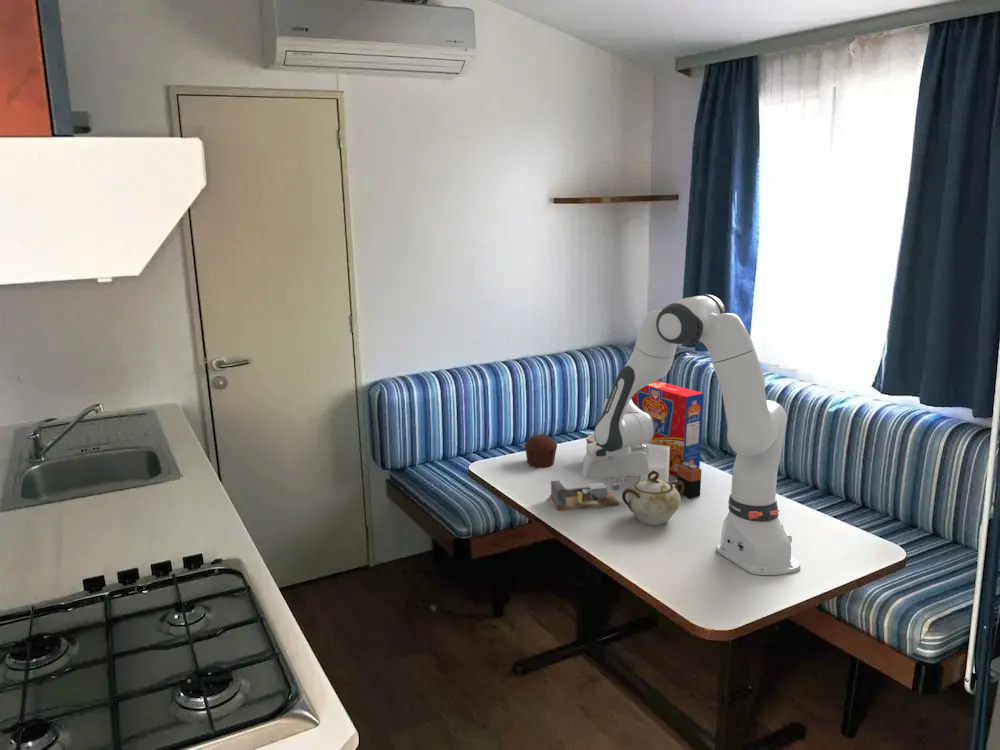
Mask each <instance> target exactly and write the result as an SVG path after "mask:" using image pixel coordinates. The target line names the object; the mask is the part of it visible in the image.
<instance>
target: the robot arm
mask: <svg viewBox="0 0 1000 750" xmlns="http://www.w3.org/2000/svg"><path fill="white" fill-rule="evenodd" d="M698 342H700V343H702V344H703V345H704V346H705V348H706V350H707V351H708V355H709V358H710V361H711V363H712V366H713V369H714V370H713V371H714V372H715V375H716V378H717V382H718V384H719V387H720V390H721V394H722V399H723V400H722V401H723V407H724V414H725V418H726V425H727V426H726V427H727V430H726V431H727V432H726V439H727V443H728V445H729V447H730V448H731V450H732V451H734V452H735V453H736V456H735V459H734V463H733V466H732V473H731V474H732V475H731V490H730V491H731V493H730V494H729V497H728V510H729V511H728V513H727V515H726V517H725V518H724V520H723V522H722V523H723V524H722V528H721V537H720V542H719V543H718V544H717V545H716V546H715V551H716V552H717V553H718V554H720V555H722V556H723V557H725V558H727V559H728V560H730V561H731V562H732V563H734V564H736V566H739V567H740V568H742V569H743V570H744V571H746V572H747V573H749V574H752V575H758V576H759V575H760V576H777V575H785V574H791V573H795V572H797V571H799V570H800V569H801V564H800V562H799V561H798V560H797V558H796V557H795V555H793V553H792V544H791V543H792V542H793V538H792V535H791V534H788V533H786V531H785V529H784V525H783V524H782V523H781V521H780V519H779V515H780V513H779V512H780V510H779V506H778V501H777V499H776V493H777V481H778V480H777V479H778V471H779V465H780V461H781V457H782V456H781V455H782V451H783V445H784V439H785V433H786V428H787V427H786V426H787V421H788V416H787V412H786V410H785V408H784V407H783V406H782V405H781V404H780V403H778V402H777V401H775V400H771V399H767V393H766V387H765V386H766V385H765V384H766V383H765V381H766V379H765V375H764V372H763V369H762V366H761V362H760V361H759V357H758V354H757V352H756V348H755V346H754V343H753V341H752V338H751V335H750V334H749V332H748V330H747V328H746V325H745V324H744V322H743V321H742V319H741V318H740V317H739V316H738V315H737V314H735V313H732V312H731V313H730V312H726V308H725V305H724V303H723V302H722V301H721V299H720V298H718V297H717V296H715V295H712V294H708V293H707V294H706V293H705V294H704V293H703V294H698V295H694V296H690V297H685V298H682V299H679V300H677V301H675V302H674V303H670V304H667V305H666V306H665V307H664V308H662V309H655V310H652V311H649V312H648V313H647V314H646V316H645V317H644V320H643V321H642V324H641V326H640V328H639V331H638V334H637V338H636V341H635V345H634V349H633V351H632V353H631V355H630V357H629V359H628V360H627V362H626V363H625V365H624V366H623V367H622V368H621V369H620V370H619V371H618V373H617V376H616V378H615V380H614V383H613V386H612V388H611V390H610V392H609V395H608V397H606V398H605V400H604V402H603V408H602V413H601V414H600V416H599V418H598V420H597V422H596V424H595V426H594V431H593V434H594V437H595V440H596V442H593V443H590V444H588V445H587V444H586V446H585V447H586V454H585V455H584V457H583V462H582V475H583V477H585V479H587V480H597V479H606V480H607V481H608V483H609V491H610V492H611V491H612V492H613V491H621V489H622V485H623V483H624V481H625V478H626V477H633V476H640V475H646V474H647V473H648V472H649V464H648V456H649V449H648V447H646V446H644V445H640V444H644V443H647V442H650V441H651V440H652V439H653V437H654V434H655V423H654V420H653V418H652V417H651V416H650V415H649V414H648V413H646V412H643V411H642V410H640V409H639V408H638V407H637V406H635V404H634V403H633V401H632V399H631V398H632V396H633V395H634V394H635V393H636V392H637V391H639V390H640V389H642V388H643V387H645V386H647V385H649V384H651V383H653V382H655V381H660V380H661V379H662V378H664V377H665V376H667V374H668V373H669V371H670V369H671V367H672V365H673V362H674V358H675V356H676V355H675V354H676V351H677V347H678V345H696V344H697V343H698ZM587 452H588V453H587ZM614 478H618V480H617V482H616V483H613V481H614Z"/></svg>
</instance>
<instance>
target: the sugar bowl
mask: <svg viewBox="0 0 1000 750" xmlns="http://www.w3.org/2000/svg"><path fill="white" fill-rule="evenodd" d="M652 474H656V476H655V477H654V478H650V476H651V475H652ZM658 478H659V473H658V472H656V471H651V472H650V473H649V474H648V479H647V480H642V481H640V480H639V481H637V482H635V484H634V485H632V486H631V488H630V487H629V488H628V487H627V488H626V489H624V490H623V492H622V496H621V497H622V501H623V503H624V504H625V505H626V506H627V507H628V508H629V510H630V512H632V513H633V514H634V515H635V517H637V519H638V521H640V523H642V524H645V525H649V526H661V525H665V524H667V523H668V522H669V520H670V519H671V518H672V516H674V514H675V513H676V511H678V509H679V507H680V505H681V496H683V495H682V493H683V492H684V489H685V485H684V483H683V482H682V481H677V480H675V481H672V482H669V481H668V482H666V481H662V480H658ZM678 484H680V485H681V490H680V492H678V488H677V486H678Z"/></svg>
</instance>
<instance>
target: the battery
mask: <svg viewBox="0 0 1000 750" xmlns="http://www.w3.org/2000/svg"><path fill="white" fill-rule="evenodd" d="M676 481H682V482H683V483H684V485H685V489H684V492H683V493H682V495H681V496H684V497H686V498H687V499H696V498H699V497H700V496H701V486H702V483H701V482H702V468H698V467H696V465H693V464H690V463H688V462H684V464H679V465H678V470H677V477H676ZM677 488H678V492H680V490H681V485H680V484H678V486H677Z"/></svg>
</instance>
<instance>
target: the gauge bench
mask: <svg viewBox="0 0 1000 750" xmlns="http://www.w3.org/2000/svg"><path fill="white" fill-rule="evenodd" d="M584 489H587V486H586V487H585V486H584V487H574V488H573V487H572V488H566V487H565V486H564V485H563V483H562V482H561V481H560V480H550V494H549V495H548V496H549V500H550V501H551V503H552V504H553V506H554V507H555V509H556V510H557V511H569V510H580V509H582V510H583V509H593V508H605V507H615V506H617V507H618V506H619V505H620V502H619V500H618V499H616V496H614V495H613V494H612V493H611V491H610V489H607V499H601V500H590V499H589V497H588V496H587V495H584V496H583V495H582V503H578V502H577V492H581V493H582V490H584Z"/></svg>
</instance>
